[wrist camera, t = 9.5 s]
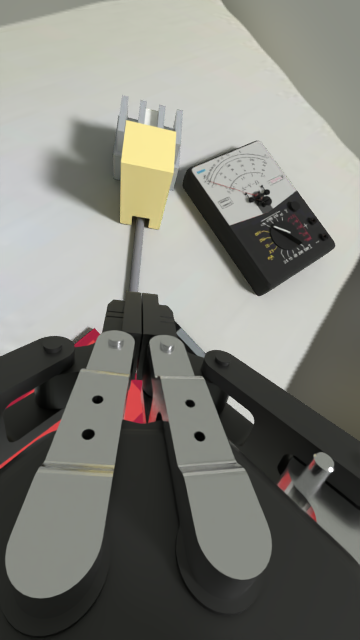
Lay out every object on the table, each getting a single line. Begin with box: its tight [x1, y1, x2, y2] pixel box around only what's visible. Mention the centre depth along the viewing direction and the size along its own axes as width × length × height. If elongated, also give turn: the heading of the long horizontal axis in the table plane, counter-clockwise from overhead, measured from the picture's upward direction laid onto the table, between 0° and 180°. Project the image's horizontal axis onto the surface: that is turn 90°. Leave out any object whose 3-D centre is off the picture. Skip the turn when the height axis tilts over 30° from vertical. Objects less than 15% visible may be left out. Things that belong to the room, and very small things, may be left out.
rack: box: [113, 95, 183, 190], centre depth 35 cm, size 6×8×7 cm
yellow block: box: [120, 120, 176, 229], centre depth 32 cm, size 5×5×10 cm
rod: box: [129, 217, 145, 292], centre depth 35 cm, size 28×3×3 cm, turn 177°
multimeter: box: [183, 141, 335, 296], centre depth 38 cm, size 13×19×5 cm
